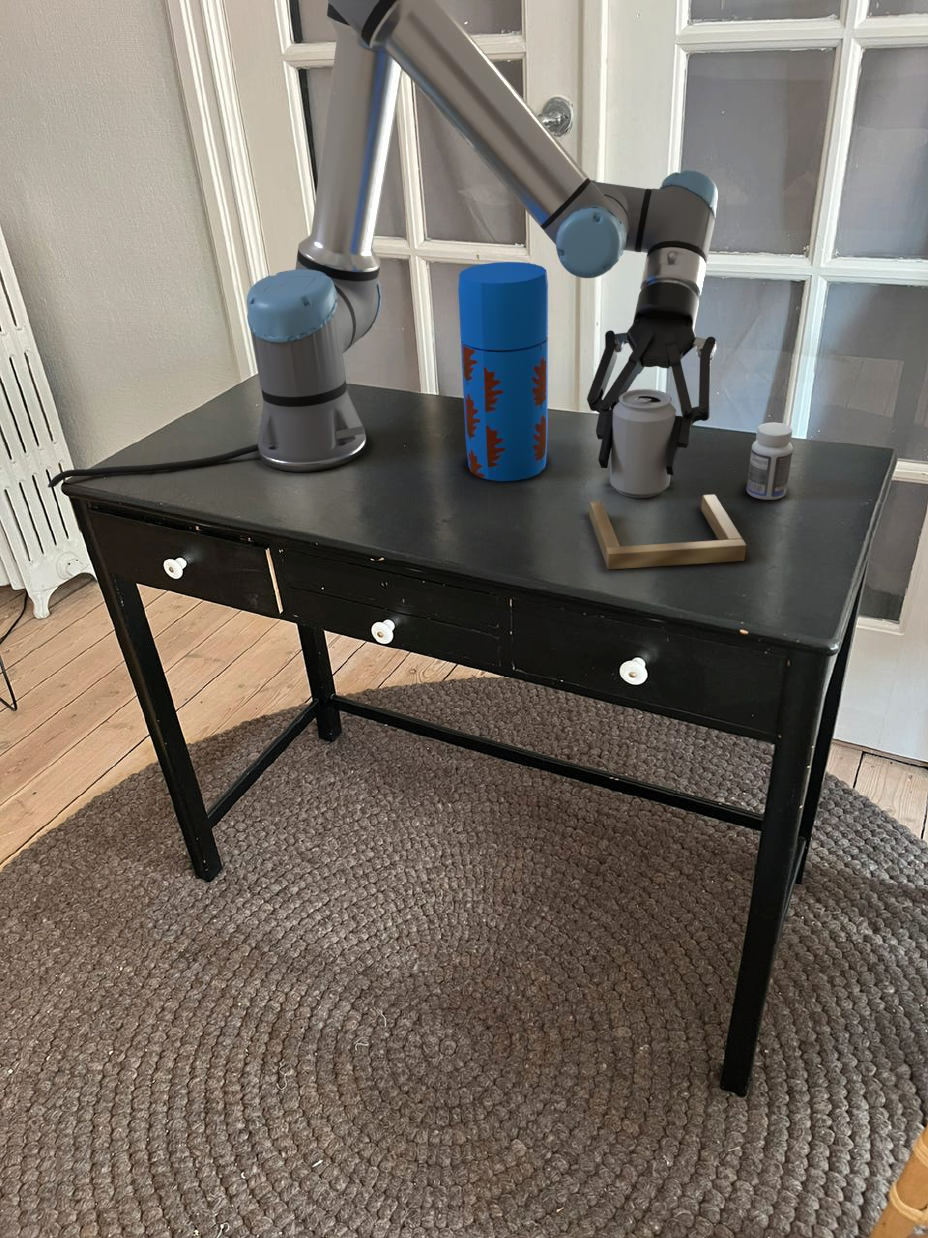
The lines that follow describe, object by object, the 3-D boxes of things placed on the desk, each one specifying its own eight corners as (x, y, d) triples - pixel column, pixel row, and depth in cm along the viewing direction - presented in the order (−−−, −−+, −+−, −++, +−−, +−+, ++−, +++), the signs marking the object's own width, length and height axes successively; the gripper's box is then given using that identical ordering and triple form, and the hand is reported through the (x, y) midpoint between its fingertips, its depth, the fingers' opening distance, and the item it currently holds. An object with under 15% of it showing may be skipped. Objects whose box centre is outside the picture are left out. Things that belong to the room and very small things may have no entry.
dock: (607, 569, 100) (608, 553, 99) (589, 516, 110) (589, 501, 109) (744, 561, 100) (746, 545, 99) (713, 509, 111) (714, 494, 110)
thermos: (528, 443, 130) (526, 257, 116) (560, 472, 121) (563, 275, 107) (456, 457, 127) (445, 268, 113) (483, 487, 118) (476, 288, 104)
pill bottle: (781, 484, 115) (791, 420, 111) (789, 501, 111) (799, 436, 107) (743, 484, 116) (751, 420, 111) (748, 500, 112) (757, 436, 107)
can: (680, 484, 116) (689, 393, 110) (648, 506, 112) (655, 412, 105) (630, 470, 121) (636, 381, 114) (597, 490, 116) (601, 399, 110)
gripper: (585, 275, 114) (548, 447, 111) (754, 282, 108) (721, 464, 105) (593, 307, 121) (560, 469, 118) (753, 315, 115) (722, 487, 112)
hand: (635, 467), depth 111 cm, fingers closed on can, 7 cm apart
